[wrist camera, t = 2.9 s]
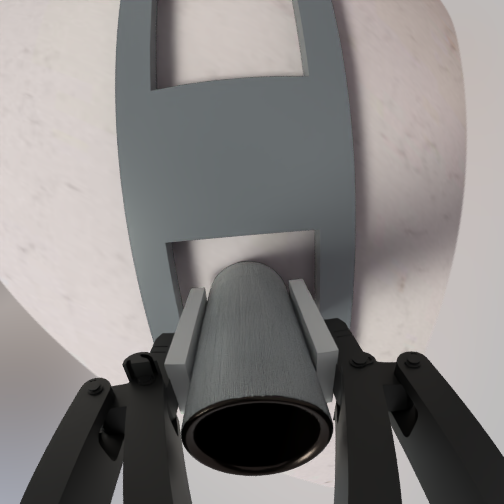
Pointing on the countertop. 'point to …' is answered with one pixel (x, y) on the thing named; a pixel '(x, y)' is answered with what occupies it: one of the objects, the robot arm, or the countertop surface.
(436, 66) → the countertop surface
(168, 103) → the panel
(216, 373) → the grey hollow cylinder
